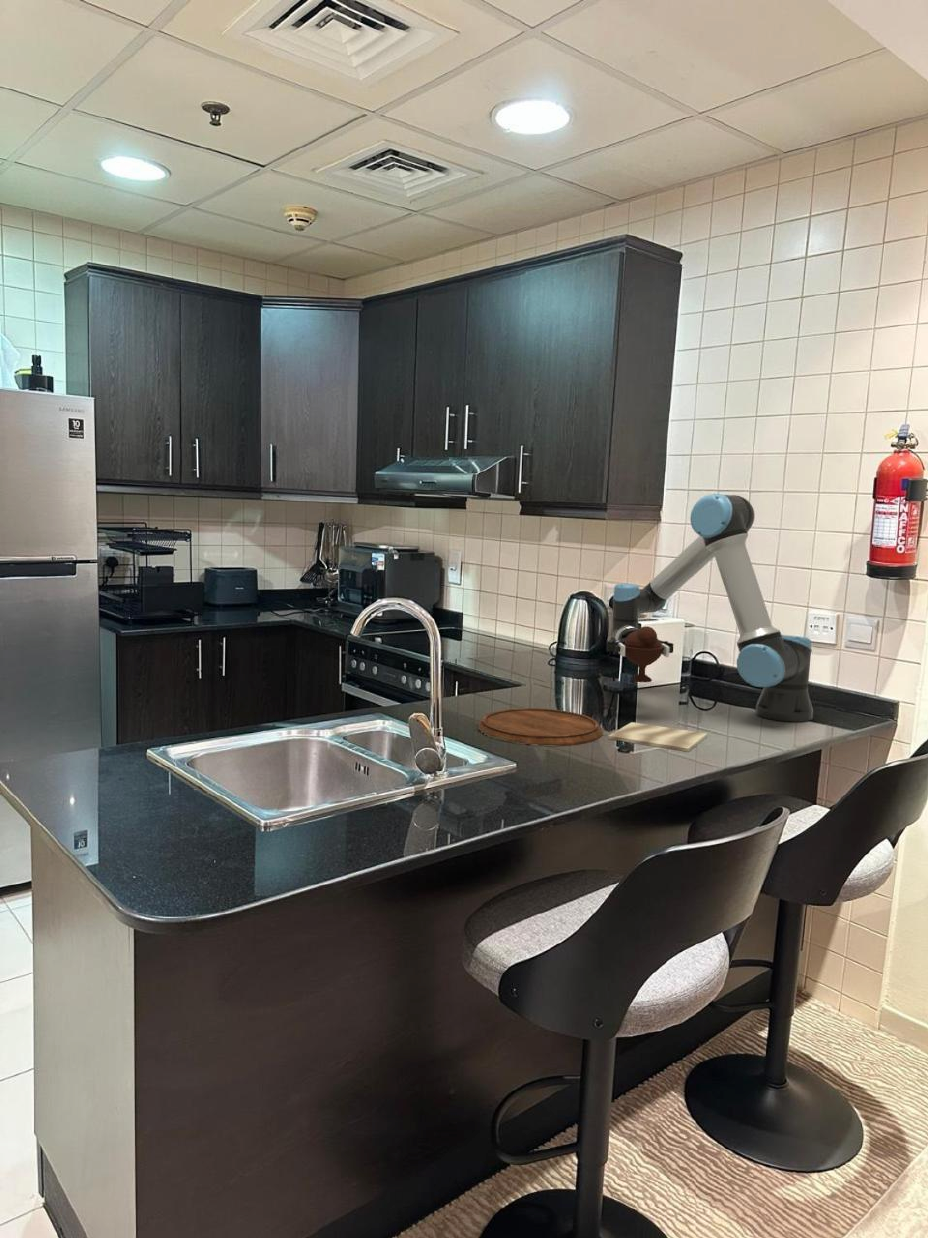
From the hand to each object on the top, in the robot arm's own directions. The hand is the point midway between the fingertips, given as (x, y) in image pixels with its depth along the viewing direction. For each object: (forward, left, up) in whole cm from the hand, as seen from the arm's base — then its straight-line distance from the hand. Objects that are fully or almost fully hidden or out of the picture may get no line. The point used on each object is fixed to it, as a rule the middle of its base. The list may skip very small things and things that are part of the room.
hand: (645, 651), depth 232 cm
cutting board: (+19, +25, -20) cm, 37 cm away
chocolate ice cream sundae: (+2, -3, -9) cm, 10 cm away
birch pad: (-9, +15, -19) cm, 26 cm away
